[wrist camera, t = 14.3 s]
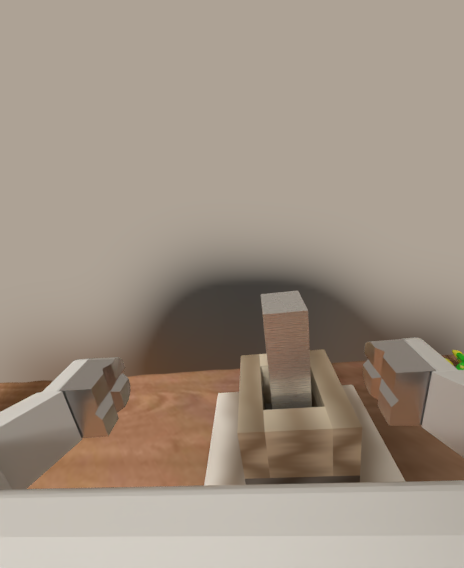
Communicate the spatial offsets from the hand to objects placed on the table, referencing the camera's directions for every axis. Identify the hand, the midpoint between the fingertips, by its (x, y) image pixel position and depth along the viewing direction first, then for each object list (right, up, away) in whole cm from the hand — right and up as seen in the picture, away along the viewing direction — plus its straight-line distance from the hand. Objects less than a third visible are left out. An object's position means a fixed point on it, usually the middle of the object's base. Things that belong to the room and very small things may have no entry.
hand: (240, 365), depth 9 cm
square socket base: (+7, -17, +23) cm, 29 cm away
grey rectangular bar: (+7, -14, +22) cm, 27 cm away
